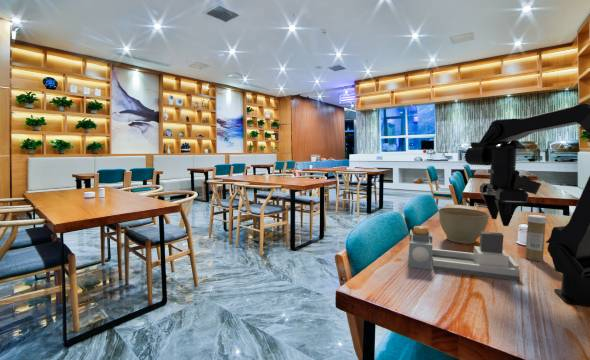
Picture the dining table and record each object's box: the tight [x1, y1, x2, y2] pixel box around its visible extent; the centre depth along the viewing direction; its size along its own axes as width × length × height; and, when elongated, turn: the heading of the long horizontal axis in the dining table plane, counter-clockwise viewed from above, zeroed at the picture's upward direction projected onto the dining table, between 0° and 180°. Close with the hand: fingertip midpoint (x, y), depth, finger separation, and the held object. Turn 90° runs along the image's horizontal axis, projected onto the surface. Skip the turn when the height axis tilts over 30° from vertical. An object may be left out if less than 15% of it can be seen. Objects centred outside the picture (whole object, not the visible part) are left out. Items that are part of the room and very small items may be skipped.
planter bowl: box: [438, 207, 490, 245], centre depth 114 cm, size 16×16×11 cm
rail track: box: [432, 248, 521, 282], centre depth 88 cm, size 12×20×3 cm, turn 69°
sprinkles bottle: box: [524, 214, 547, 262], centre depth 95 cm, size 5×5×13 cm
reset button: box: [413, 225, 429, 236], centre depth 92 cm, size 4×4×2 cm
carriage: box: [473, 231, 510, 268], centre depth 86 cm, size 7×7×9 cm
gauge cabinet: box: [408, 229, 434, 271], centre depth 93 cm, size 12×6×9 cm, turn 159°
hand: (499, 222), depth 87 cm, fingers open, 9 cm apart
